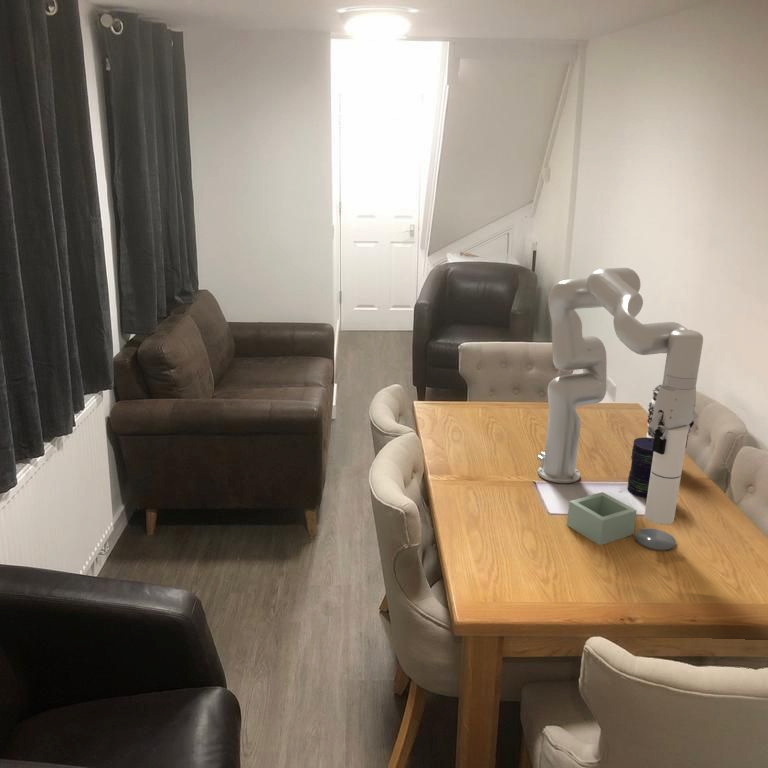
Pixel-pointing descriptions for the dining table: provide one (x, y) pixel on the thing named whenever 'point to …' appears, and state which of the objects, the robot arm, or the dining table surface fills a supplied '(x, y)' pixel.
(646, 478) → the storage jar
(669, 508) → the cylindrical container
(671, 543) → the grey round disc
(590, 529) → the collar
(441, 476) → the dining table surface
